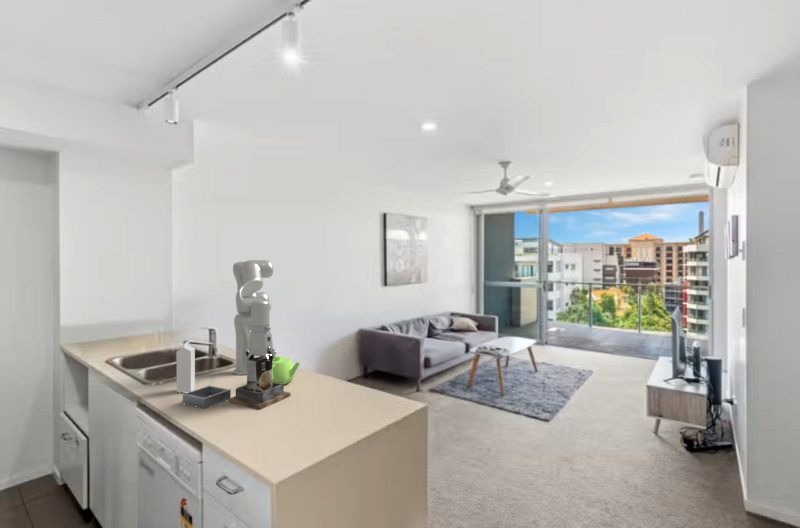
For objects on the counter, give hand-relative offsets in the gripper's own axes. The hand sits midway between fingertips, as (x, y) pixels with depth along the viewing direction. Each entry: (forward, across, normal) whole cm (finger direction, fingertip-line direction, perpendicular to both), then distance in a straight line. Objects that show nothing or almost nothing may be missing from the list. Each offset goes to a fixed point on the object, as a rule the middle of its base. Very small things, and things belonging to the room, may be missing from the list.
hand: (260, 368), depth 174 cm
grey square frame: (+13, +18, +12) cm, 25 cm away
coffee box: (+12, 0, 0) cm, 12 cm away
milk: (+14, +38, +7) cm, 41 cm away
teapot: (+14, +8, -22) cm, 27 cm away
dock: (+13, 0, 0) cm, 13 cm away
